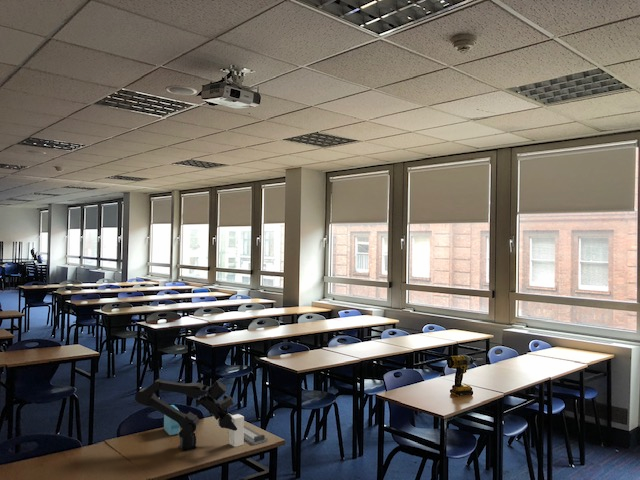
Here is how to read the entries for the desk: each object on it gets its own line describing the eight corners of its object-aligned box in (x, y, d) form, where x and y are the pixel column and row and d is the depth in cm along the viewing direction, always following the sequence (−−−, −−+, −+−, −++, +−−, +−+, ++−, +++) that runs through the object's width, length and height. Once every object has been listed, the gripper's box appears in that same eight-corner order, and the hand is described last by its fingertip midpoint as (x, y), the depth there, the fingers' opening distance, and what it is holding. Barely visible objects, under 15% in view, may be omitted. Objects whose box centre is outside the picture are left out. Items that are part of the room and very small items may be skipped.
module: (234, 447, 229) (234, 418, 230) (228, 443, 233) (229, 416, 234) (243, 444, 233) (244, 416, 233) (238, 441, 236) (238, 413, 237)
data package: (179, 434, 244) (179, 410, 245) (170, 436, 242) (170, 411, 242) (172, 427, 255) (172, 403, 255) (163, 429, 252) (164, 405, 252)
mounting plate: (253, 445, 232) (253, 438, 232) (230, 431, 249) (230, 425, 249) (267, 441, 237) (267, 434, 237) (244, 428, 254) (244, 422, 254)
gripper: (226, 397, 222) (251, 419, 226) (220, 386, 240) (242, 407, 243) (209, 416, 220) (233, 438, 223) (203, 404, 237) (226, 425, 241)
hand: (234, 426), depth 233 cm, fingers open, 9 cm apart
